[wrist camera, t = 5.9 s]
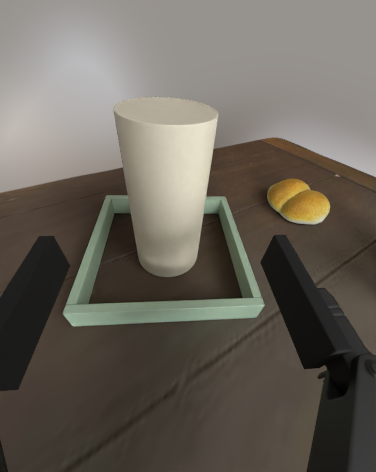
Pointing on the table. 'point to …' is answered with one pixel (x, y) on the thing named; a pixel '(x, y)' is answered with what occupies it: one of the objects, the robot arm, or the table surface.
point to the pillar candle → (166, 177)
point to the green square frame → (160, 311)
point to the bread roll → (298, 202)
